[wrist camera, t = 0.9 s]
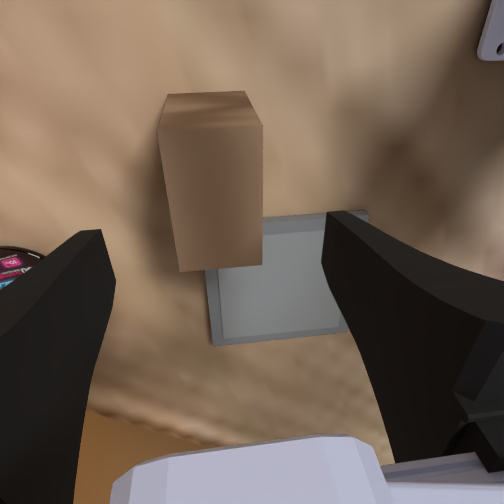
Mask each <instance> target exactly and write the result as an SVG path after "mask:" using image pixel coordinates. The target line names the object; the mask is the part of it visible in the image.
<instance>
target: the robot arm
mask: <svg viewBox="0 0 504 504" xmlns="http://www.w3.org/2000/svg"><path fill="white" fill-rule="evenodd" d="M500 44H502V48H501V50H500V51H499V52H498V53H496V51H497V48H498V46H499V45H500ZM477 55H478V58H479V59H481V60H485V61H501V60H504V0H492V2H491V5H490V9H489V12H488V15H487V19H486V22H485V26H484V29H483V32H482V36H481V39H480V42H479V46H478V49H477ZM321 264H322V268H323V271H324V274H325V277H326V280H327V283H328V286H329V289H330V291H331V293H332V295H333V297H334V299H335V301H336V303H337V305H338V307H339V309H340V311H341V313H342V315H343V317H344V319H345V321H346V323H347V325H348V327H349V329H350V331H351V333H352V335H353V337H354V340H355V342H356V344H357V346H358V349H359V351H360V354H361V356H362V359H363V362H364V365H365V368H366V370H367V373H368V376H369V379H370V382H371V385H372V388H373V391H374V394H375V397H376V400H377V403H378V406H379V409H380V412H381V416H382V419H383V422H384V425H385V429H386V432H387V435H388V438H389V442H390V446H391V449H392V453H393V456H394V460H395V464H389V465H382V466H380V465H379V463H378V460H377V458H376V455H375V453H374V450H373V447H372V446H370V445H368V444H366V443H364V442H362V441H360V440H358V439H356V438H354V437H352V436H349V435H347V434H312V435H305V436H298V437H290V438H283V439H276V440H268V441H261V442H253V443H246V444H239V445H231V446H224V447H216V448H209V449H202V450H195V451H187V452H179V453H172V454H167V455H164V456H160V457H157V458H153V459H149V460H146V461H143V462H139V463H138V464H137V465H135V466H134V467H133V468H131V469H130V470H129V471H127V472H126V473H125V474H124V475H122V476H121V477H120V478H118V479H117V480H116V481H115V482H113V486H112V492H111V498H110V504H504V281H501V280H498V279H494V278H490V277H487V276H484V275H481V274H478V273H475V272H472V271H468V270H465V269H462V268H460V267H457V266H454V265H451V264H449V263H446V262H444V261H442V260H439V259H437V258H434V257H432V256H429V255H427V254H425V253H423V252H421V251H418V250H416V249H414V248H412V247H410V246H408V245H406V244H404V243H402V242H401V241H399V240H397V239H395V238H393V237H391V236H389V235H388V234H386V233H384V232H382V231H381V230H379V229H377V228H375V227H374V226H372V225H370V224H369V223H367V222H365V221H363V220H362V219H360V218H358V217H356V216H355V215H353V214H351V213H349V212H347V211H334V212H327V214H326V222H325V231H324V240H323V248H322V257H321ZM115 285H116V279H115V275H114V272H113V269H112V265H111V262H110V258H109V255H108V252H107V248H106V245H105V241H104V238H103V234H102V231H101V229H96V230H83V231H79V232H78V233H76V234H75V235H73V236H72V237H71V238H69V239H68V240H67V241H65V242H64V243H63V244H61V245H60V246H59V247H58V248H56V249H55V250H54V251H53V252H51V253H50V254H49V255H47V256H46V257H45V258H44V259H42V260H41V261H40V262H38V263H37V264H36V265H34V266H33V267H32V268H30V269H29V270H27V271H26V272H25V273H23V274H22V275H20V276H19V277H18V278H16V279H15V280H13V281H12V282H11V283H9V284H8V285H6V286H5V287H3V288H2V289H0V504H73V499H74V489H75V480H76V473H77V465H78V458H79V450H80V443H81V436H82V429H83V423H84V417H85V411H86V405H87V400H88V394H89V389H90V383H91V379H92V375H93V371H94V367H95V364H96V360H97V357H98V354H99V350H100V347H101V344H102V341H103V337H104V334H105V331H106V327H107V324H108V321H109V317H110V314H111V310H112V306H113V300H114V293H115Z"/></svg>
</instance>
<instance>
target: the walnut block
mask: <svg viewBox="0 0 504 504" xmlns="http://www.w3.org/2000/svg"><path fill="white" fill-rule="evenodd" d="M157 136H158V142H159V148H160V154H161V160H162V166H163V173H164V179H165V185H166V191H167V197H168V203H169V210H170V216H171V222H172V228H173V234H174V240H175V247H176V253H177V259H178V265H179V271H180V272H188V271H200V270H211V269H223V268H234V267H246V266H257V265H262V258H263V125H262V123H261V122H260V120H259V118H258V116H257V114H256V112H255V110H254V108H253V106H252V104H251V102H250V101H249V99H248V97H247V95H246V93H245V91H229V92H205V93H181V94H168V96H167V100H166V103H165V106H164V109H163V113H162V116H161V119H160V123H159V126H158V129H157Z"/></svg>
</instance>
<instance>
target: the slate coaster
mask: <svg viewBox="0 0 504 504" xmlns="http://www.w3.org/2000/svg"><path fill="white" fill-rule="evenodd" d="M348 212H349V213H351V214H353V215H355V216H356V217H358V218H360V219H362V220H363V221H365V222H367V223H368V220H369V214H368V212H367V211H366V210H361V211H348ZM326 214H327V213H321V214H307V215H294V216H281V217H267V218H263V258H262V265H257V266H246V267H234V268H223V269H211V270H205V278H206V287H207V296H208V305H209V314H210V323H211V332H212V341H213V346H222V345H232V344H241V343H250V342H260V341H269V340H279V339H288V338H297V337H307V336H316V335H325V334H335V333H344V332H347V329H348V325H347V323H346V321H345V319H344V317H343V315H342V313H341V311H340V309H339V307H338V305H337V303H336V301H335V299H334V297H333V295H332V293H331V291H330V289H329V286H328V283H327V280H326V277H325V274H324V271H323V268H322V264H321V257H322V248H323V240H324V231H325V222H326Z"/></svg>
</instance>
